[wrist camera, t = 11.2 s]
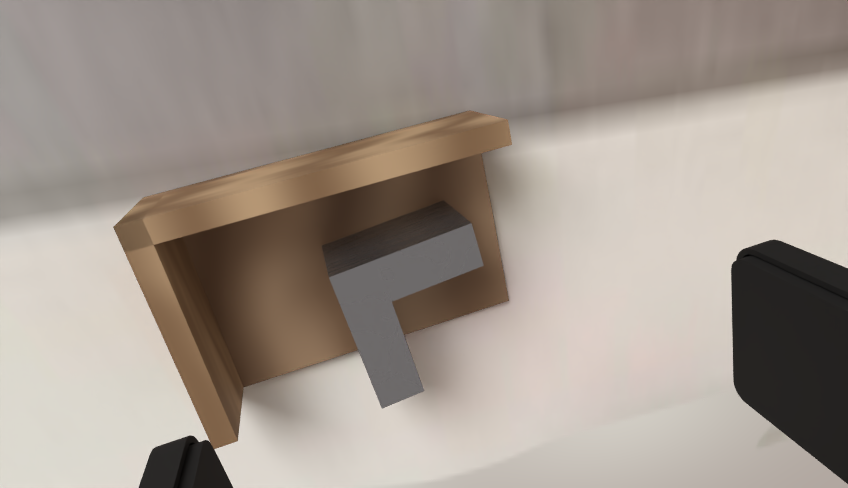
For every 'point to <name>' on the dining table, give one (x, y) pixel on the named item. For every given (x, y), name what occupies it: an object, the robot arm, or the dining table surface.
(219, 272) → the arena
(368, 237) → the bracket
